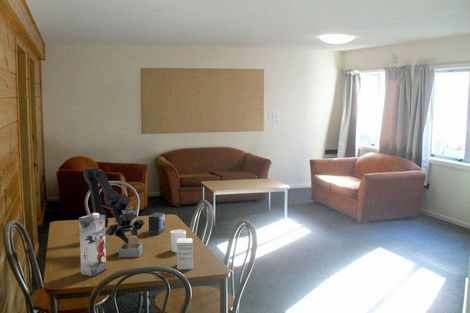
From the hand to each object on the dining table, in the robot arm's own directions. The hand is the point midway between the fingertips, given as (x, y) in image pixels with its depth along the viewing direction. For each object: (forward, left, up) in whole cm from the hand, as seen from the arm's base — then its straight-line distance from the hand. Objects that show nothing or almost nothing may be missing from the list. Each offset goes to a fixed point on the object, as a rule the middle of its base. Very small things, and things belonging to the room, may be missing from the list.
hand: (132, 241), depth 247 cm
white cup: (+22, +6, -7) cm, 24 cm away
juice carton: (-13, -25, -7) cm, 29 cm away
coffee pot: (-16, +47, -7) cm, 50 cm away
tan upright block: (-1, +1, -7) cm, 7 cm away
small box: (+7, +40, -7) cm, 41 cm away
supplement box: (+27, -18, -7) cm, 33 cm away
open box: (-1, +1, -7) cm, 7 cm away
